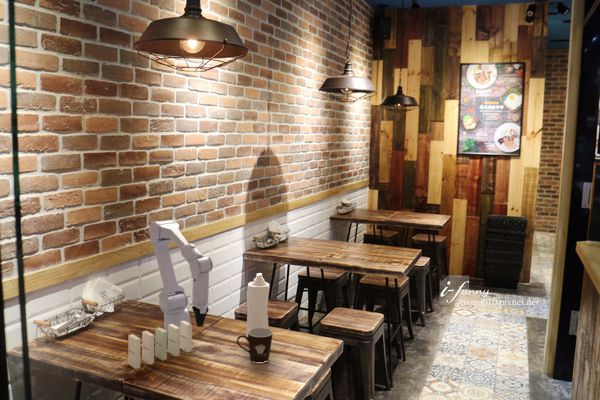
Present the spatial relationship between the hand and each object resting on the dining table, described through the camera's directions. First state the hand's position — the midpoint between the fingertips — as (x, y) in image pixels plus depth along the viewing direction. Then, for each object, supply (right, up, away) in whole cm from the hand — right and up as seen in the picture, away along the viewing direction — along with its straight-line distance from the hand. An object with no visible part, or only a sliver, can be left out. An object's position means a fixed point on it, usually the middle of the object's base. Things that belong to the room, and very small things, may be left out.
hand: (199, 326), depth 188 cm
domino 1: (-18, -9, -18) cm, 27 cm away
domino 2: (-15, -9, -14) cm, 22 cm away
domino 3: (-11, -8, -10) cm, 18 cm away
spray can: (+20, -7, +11) cm, 24 cm away
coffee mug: (+21, -10, -8) cm, 25 cm away
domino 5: (-4, -8, -3) cm, 9 cm away
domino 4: (-8, -8, -7) cm, 13 cm away
